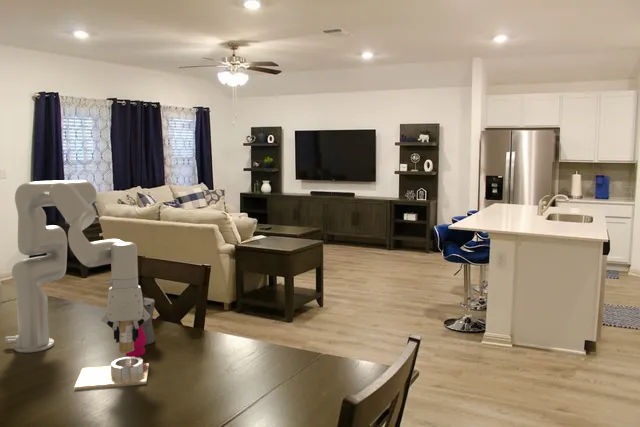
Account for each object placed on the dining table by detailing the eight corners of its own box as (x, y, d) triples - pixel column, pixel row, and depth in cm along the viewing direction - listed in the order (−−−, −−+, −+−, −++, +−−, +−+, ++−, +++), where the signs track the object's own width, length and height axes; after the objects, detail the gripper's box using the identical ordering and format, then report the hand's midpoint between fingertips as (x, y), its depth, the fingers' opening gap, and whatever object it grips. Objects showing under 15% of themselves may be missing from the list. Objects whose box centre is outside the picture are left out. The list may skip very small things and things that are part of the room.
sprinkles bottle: (116, 350, 167) (114, 308, 166) (129, 347, 171) (128, 305, 169) (124, 354, 164) (122, 311, 163) (137, 350, 168) (136, 308, 166)
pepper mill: (139, 358, 183) (138, 300, 181) (120, 356, 184) (118, 299, 182) (150, 350, 190) (149, 295, 188) (131, 348, 191) (130, 293, 189)
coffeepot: (163, 343, 198) (162, 294, 196) (138, 349, 191) (137, 299, 189) (143, 332, 209) (142, 286, 207) (119, 337, 202) (118, 290, 200)
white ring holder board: (74, 390, 158) (73, 375, 158) (82, 371, 172) (82, 357, 171) (146, 383, 163) (146, 369, 163) (148, 365, 177) (148, 352, 176)
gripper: (93, 287, 159) (95, 347, 162) (153, 284, 164) (154, 343, 166) (97, 281, 167) (99, 338, 169) (154, 278, 171) (155, 334, 173)
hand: (126, 340), depth 167 cm, fingers closed on sprinkles bottle, 4 cm apart
